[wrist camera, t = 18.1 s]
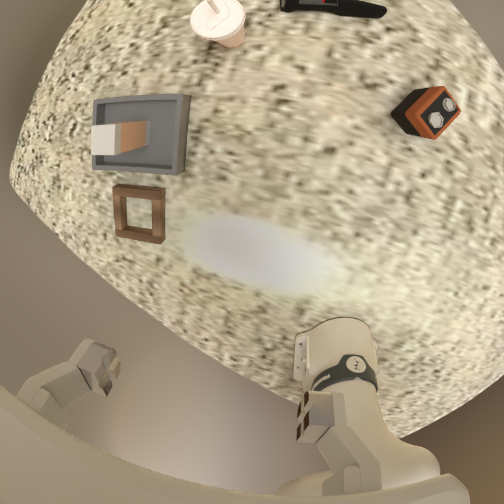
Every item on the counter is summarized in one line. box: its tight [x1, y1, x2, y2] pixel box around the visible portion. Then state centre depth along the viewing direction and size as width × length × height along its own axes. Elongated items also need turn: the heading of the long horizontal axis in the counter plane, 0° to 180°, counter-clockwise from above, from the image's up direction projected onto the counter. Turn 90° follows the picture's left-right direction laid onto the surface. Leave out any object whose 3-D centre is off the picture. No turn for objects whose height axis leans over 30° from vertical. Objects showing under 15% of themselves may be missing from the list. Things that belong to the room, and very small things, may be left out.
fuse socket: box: [113, 184, 165, 244], centre depth 44 cm, size 9×9×2 cm
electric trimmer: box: [280, 0, 387, 18], centre depth 24 cm, size 4×16×3 cm, turn 91°
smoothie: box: [190, 0, 245, 48], centre depth 24 cm, size 6×6×14 cm
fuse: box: [91, 120, 151, 155], centre depth 33 cm, size 4×4×10 cm
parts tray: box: [92, 94, 191, 175], centre depth 37 cm, size 12×16×4 cm
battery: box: [391, 86, 461, 140], centre depth 27 cm, size 4×7×10 cm, turn 140°
